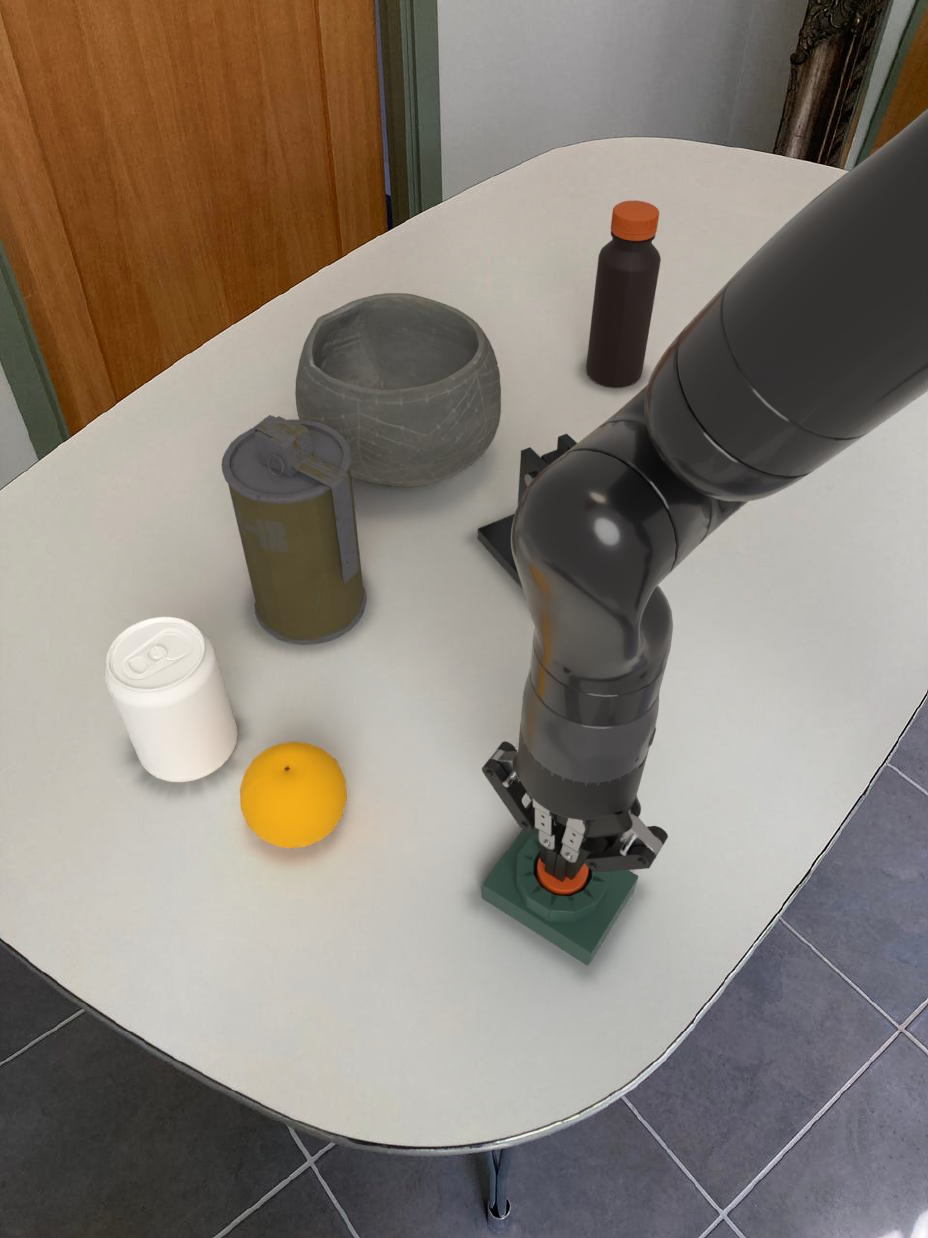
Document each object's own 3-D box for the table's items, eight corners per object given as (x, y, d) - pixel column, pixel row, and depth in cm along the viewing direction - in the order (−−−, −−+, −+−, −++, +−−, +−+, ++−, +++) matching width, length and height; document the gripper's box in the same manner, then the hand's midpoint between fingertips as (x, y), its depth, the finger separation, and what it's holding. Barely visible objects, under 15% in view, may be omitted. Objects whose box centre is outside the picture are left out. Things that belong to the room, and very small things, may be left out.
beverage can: (258, 744, 79) (233, 652, 70) (176, 805, 75) (138, 715, 67) (201, 690, 83) (171, 595, 74) (120, 745, 79) (77, 652, 70)
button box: (634, 890, 71) (642, 864, 68) (588, 966, 67) (594, 942, 64) (531, 828, 74) (534, 801, 71) (481, 898, 70) (482, 872, 67)
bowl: (535, 482, 102) (545, 360, 91) (359, 551, 95) (346, 428, 84) (437, 384, 114) (436, 265, 103) (275, 438, 107) (254, 317, 96)
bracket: (621, 578, 93) (640, 475, 83) (544, 613, 89) (554, 510, 80) (550, 507, 99) (560, 404, 90) (477, 538, 96) (479, 434, 87)
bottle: (596, 352, 119) (616, 191, 104) (649, 365, 117) (676, 203, 102) (577, 380, 115) (594, 217, 100) (631, 394, 113) (657, 230, 98)
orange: (353, 773, 78) (345, 719, 72) (347, 862, 72) (338, 811, 67) (254, 775, 77) (238, 720, 72) (241, 864, 72) (223, 812, 67)
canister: (231, 613, 89) (186, 440, 74) (305, 549, 95) (277, 377, 80) (320, 665, 85) (291, 493, 70) (392, 595, 91) (379, 422, 76)
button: (595, 873, 69) (597, 861, 68) (570, 911, 67) (572, 900, 66) (552, 847, 71) (554, 835, 69) (526, 884, 69) (527, 873, 67)
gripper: (453, 714, 55) (453, 859, 68) (661, 830, 50) (618, 962, 63) (522, 633, 59) (510, 784, 72) (720, 733, 54) (669, 876, 67)
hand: (561, 867), depth 68 cm, fingers closed
